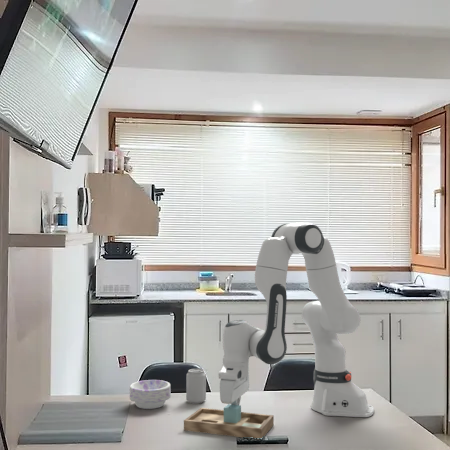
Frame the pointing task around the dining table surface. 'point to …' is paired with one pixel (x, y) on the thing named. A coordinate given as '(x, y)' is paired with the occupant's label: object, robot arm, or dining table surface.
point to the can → (196, 386)
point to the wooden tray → (215, 424)
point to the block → (232, 413)
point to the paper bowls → (150, 393)
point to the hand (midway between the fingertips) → (235, 410)
